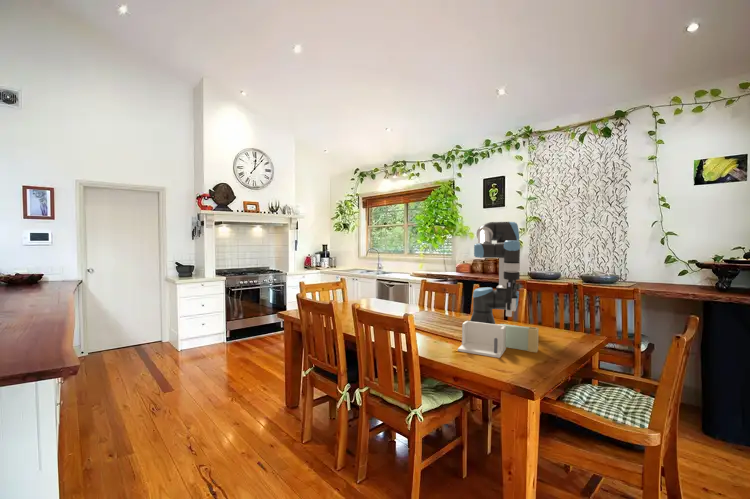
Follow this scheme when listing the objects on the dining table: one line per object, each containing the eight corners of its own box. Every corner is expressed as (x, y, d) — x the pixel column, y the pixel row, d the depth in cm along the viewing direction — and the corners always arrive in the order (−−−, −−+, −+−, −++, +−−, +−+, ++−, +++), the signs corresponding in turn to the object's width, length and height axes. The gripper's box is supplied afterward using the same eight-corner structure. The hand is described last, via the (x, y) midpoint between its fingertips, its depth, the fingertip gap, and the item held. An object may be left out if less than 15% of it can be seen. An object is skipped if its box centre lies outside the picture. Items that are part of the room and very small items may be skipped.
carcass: (466, 343, 193) (466, 320, 192) (505, 349, 183) (506, 325, 182) (457, 350, 181) (457, 326, 180) (499, 357, 171) (500, 332, 170)
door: (500, 344, 191) (500, 323, 191) (538, 349, 182) (538, 327, 182) (498, 346, 187) (498, 325, 186) (536, 352, 178) (537, 330, 177)
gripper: (507, 268, 196) (507, 308, 197) (499, 273, 174) (498, 317, 175) (522, 269, 192) (522, 309, 193) (516, 274, 170) (515, 319, 171)
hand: (510, 313), depth 184 cm, fingers open, 13 cm apart
